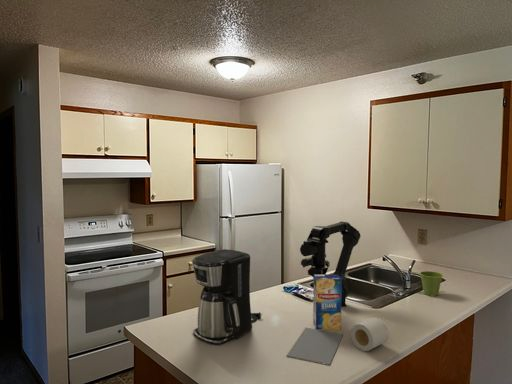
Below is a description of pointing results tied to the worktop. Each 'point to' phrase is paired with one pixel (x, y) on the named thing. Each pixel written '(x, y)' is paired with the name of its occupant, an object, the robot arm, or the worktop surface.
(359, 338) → the toilet paper
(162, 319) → the worktop surface
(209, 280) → the coffee maker
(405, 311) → the worktop surface
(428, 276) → the plant pot
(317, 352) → the mat
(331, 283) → the beverage box
